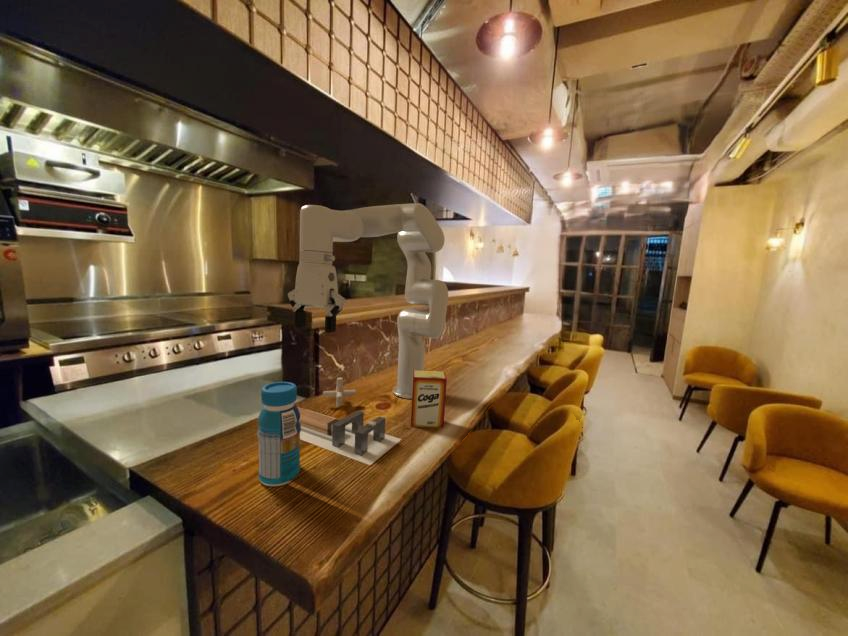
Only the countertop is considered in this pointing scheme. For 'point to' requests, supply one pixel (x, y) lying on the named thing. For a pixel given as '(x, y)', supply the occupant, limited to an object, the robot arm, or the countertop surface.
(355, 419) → the rear collar
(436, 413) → the baking soda box
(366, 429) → the front collar
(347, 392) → the pipe connector
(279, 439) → the beverage bottle
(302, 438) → the white rail board
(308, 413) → the bar
